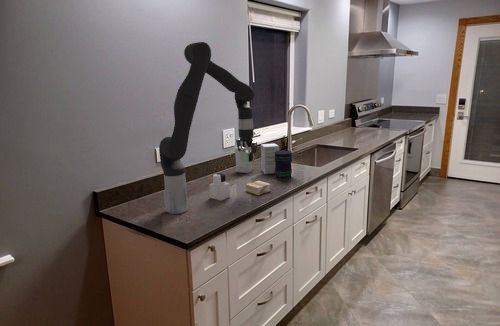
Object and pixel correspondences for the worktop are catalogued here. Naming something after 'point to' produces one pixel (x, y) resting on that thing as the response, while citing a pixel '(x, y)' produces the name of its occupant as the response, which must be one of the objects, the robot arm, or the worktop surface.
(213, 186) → the medicine bottle
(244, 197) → the worktop surface
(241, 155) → the sage cube
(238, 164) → the skincare box
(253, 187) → the maple box
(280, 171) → the storage jar
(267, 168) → the supplement box
